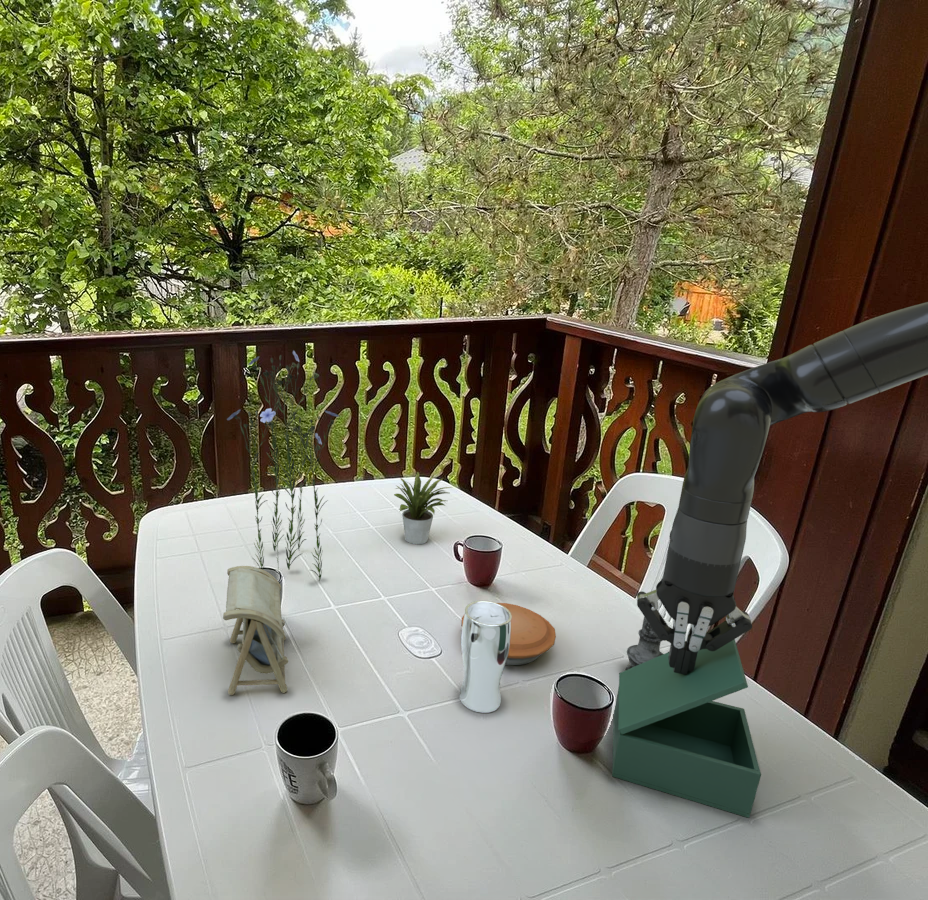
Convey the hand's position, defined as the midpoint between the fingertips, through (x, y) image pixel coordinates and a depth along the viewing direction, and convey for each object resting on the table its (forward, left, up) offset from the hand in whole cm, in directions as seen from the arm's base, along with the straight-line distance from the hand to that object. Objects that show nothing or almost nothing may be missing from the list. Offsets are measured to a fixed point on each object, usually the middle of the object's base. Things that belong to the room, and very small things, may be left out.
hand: (679, 670), depth 81 cm
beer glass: (+18, -17, -14) cm, 28 cm away
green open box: (-1, +1, -14) cm, 14 cm away
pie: (+7, -28, -14) cm, 32 cm away
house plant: (+6, -69, -14) cm, 71 cm away
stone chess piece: (-10, -15, -14) cm, 23 cm away
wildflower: (+37, -65, -14) cm, 76 cm away
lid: (0, 0, -2) cm, 2 cm away
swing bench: (+49, -34, -14) cm, 61 cm away
